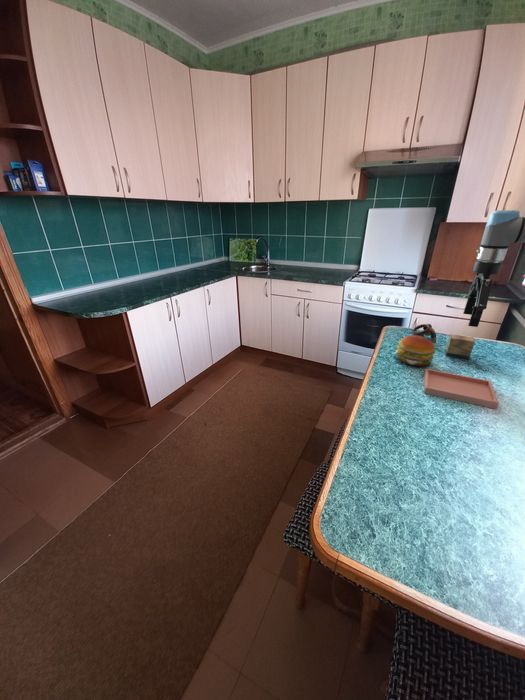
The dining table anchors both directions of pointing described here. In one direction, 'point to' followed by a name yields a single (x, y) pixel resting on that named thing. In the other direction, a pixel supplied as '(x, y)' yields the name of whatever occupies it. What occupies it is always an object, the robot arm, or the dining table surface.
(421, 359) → the burger
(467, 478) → the dining table surface
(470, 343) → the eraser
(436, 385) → the tray
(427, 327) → the pottery mug
